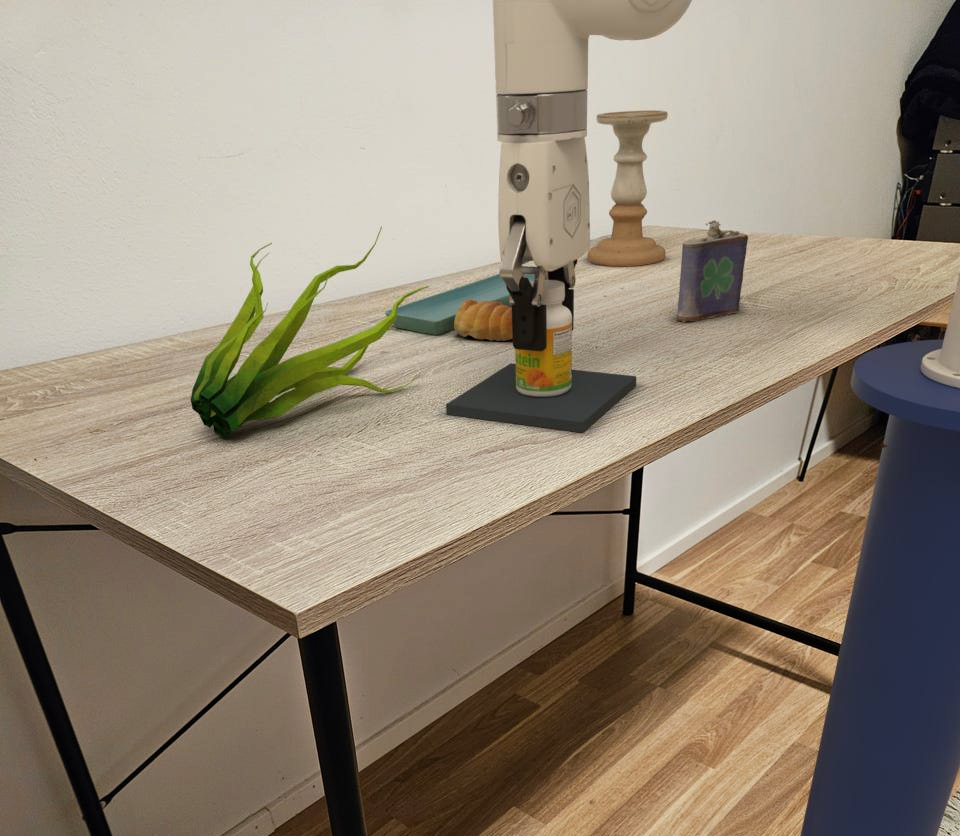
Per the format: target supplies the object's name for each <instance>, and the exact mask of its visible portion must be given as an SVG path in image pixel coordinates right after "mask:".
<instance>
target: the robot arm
mask: <svg viewBox="0 0 960 836" xmlns="http://www.w3.org/2000/svg"><path fill="white" fill-rule="evenodd" d="M692 1H693V0H492V15H493V16H492V17H493V19H492V20H493V47H494V78H495V94H496V95H495V105H496V107H495V109H496V136H497V137H496V140H497V142H501V145H500V156H499V172H498V173H499V174H498V175H499V176H498V199H497V200H498V204H497V205H498V206H497V209H498V211H497V212H498V213H497V214H498V216H497V218H498V220H497V221H498V223H497V224H498V247H499V255H500V261H501V263H500V267H499V274H500V277H501V278H502V280H503V281H504V283H505V284H506V287H507V290H508V292H509V303H510V305H512V337H513V338H512V347H513V349H514V350H515V349H520V350H531V351H543V350H545V349H546V347H547V320H546V305H543V304H542V298H543V290H544V281H545V280H556V281H561V282H563V283H564V285H565V297H564V301H562V305H563V306H565V307H567V308H568V309H569V310H570V312H571V314H572V332H573V331H574V323H575V322H574V318H575V317H574V316H575V315H574V314H575V313H574V312H575V309H574V308H575V289H574V288H575V286H576V281H577V279H576V270H575V268H576V266H577V264H578V259H580V258H581V257H583V256H584V255H585V254H586V253H588V251H589V250H590V249H589V248H590V246H591V213H590V209H591V208H590V207H591V206H590V181H589V161H588V153H587V147H586V146H587V145H586V137H587V136H588V88H589V87H588V86H589V38H590V36H602V37H604V38H607V39H610V40H612V41H613V40H614V41H642V40H649V39H652V38H655V37H657V36H660V35H662V34H664V33H665V32H667V31H668V30H670V29H671V28H672V27H673V26H675V25H676V24H677V23H678V22H679V21H680V20H681V19H682V18H683V16H684V15H685V14H686V12H687V10H689V7H690V6H691V3H692ZM529 262H533V263H534V266H527V265H526V264H527V263H529ZM523 275H532V276H534V282H533V287H532V285H531V283H530V281H529V279H528V278H524V277H523ZM943 339H944V341H943V346H942V349H939V350H935V351H932V352H930V353H928V354H926V355H925V356H924V357H923V359H922V363H921V367H920V369H921V372H922V373H923V374H924V375H925V376H926V377H928V378H929V379H931V380H933V381H935V382H938V383H941V384H944V385H947V386H950V387H954V388H959V389H960V272H959V274H958V278H957V282H956V286H955V291H954V295H953V299H952V304H951V308H950V312H949V316H948V320H947V324H946V329H945V333H944V337H943Z"/></svg>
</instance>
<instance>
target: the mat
mask: <svg viewBox="0 0 960 836" xmlns="http://www.w3.org/2000/svg"><path fill="white" fill-rule="evenodd" d="M635 387H637V375H630V374H629V375H628V374H620V373H611V372H610V373H608V372H602V371H601V372H600V371H592V370H591V371H589V370H583V369H581V370H580V369H572V382H571V388H570V390H569V391H567V392H566V393H564V394H562V395H558V396H554V397H531V396H526V395H523V394H521V393H519V392H518V390H517V388H516V362H515V363H514V362H511V363H508V364H507V365H505V366H504V367H502V368H501V369H499V370H497V371H495V372H494V373H493V374H491V375H489V376H487V378H485V379H483V380H482V381H480V382H478V383H477V384H476V385H474V386H472V387H471V388H469V389H468V390H466V391H464V392H462V393H461V394H460V395H458V396H457V397H455V398H453V399H452V400H450V401H449V402H447V403H446V404H445V409H446V410H445V411H446V412H445V413H446V415H448V416H454V417H455V416H457V417H464V418H472V419H479V420H485V421H493V422H500V423H507V424H508V423H509V424H515V425H523V426H529V427H530V426H531V427H538V428H544V429H553V430H560V431H566V432H575V433H581V434H583V433H584V432H586V430H588V429H589V428H590V427H591V426H592V425H594V424H595V423H596V422H597V421H598V420H599V419H600V418H601V417H603V415H605V414H606V413H607V412H608V411H610V410H611V409H612V408H613V407H614V406H615V405H616V404H617V403H618V402H619V401H621V400H622V399H623V398H624V397H625V396H626V395H628V394H629V393H630V392H631V391H632V390H633V389H635Z"/></svg>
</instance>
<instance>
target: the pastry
mask: <svg viewBox="0 0 960 836" xmlns="http://www.w3.org/2000/svg"><path fill="white" fill-rule="evenodd" d="M453 330H455V332H457V334H459V336H461V337H462V338H463V337H464V338H467V336H470V337H472V338H473V339H477V340H485V339H486V340H489V341H490V342H492V341H496V342H498V341H501V342H506V341H510V340H511V339H512V340H513V337H512V307H509V306H506V305H503V304H502V303H501V302H490V301H484V302H477V301H475V300H471V299H469V300H466V301H464V302H463V303H462V304H461V306H460V307H459V308H458V310H457V313H456V316H455V321H454V329H453Z"/></svg>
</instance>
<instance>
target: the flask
mask: <svg viewBox="0 0 960 836" xmlns="http://www.w3.org/2000/svg"><path fill="white" fill-rule="evenodd" d="M708 225H709V228H708V231H706V235H707V237H701V238H697V239H691V240H687V241H684V242H683V243H682V248H681V249H682V250H681V251H682V253H681V263H680V274H679V275H680V276H679V291H678V301H677V311H676V319H677V321H678V322H683V323H686V322H699V320H705V319H707V320H708V319H714V318H715V317H717V316H721V317H722V316H724V315H730V314H737V313H739V312H740V301H741V292H742V286H743V280H744V269H745V264H746V263H745V262H746V255H747V246H748V241H749V236H748V234H745V233H742V232H739V231H738V230H725V231H723V230H721V229H720V226H722V225H721V223H720V221H719V220H718V221H717V220H716V219H714V220H711V221H708V223H705V226H708Z"/></svg>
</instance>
